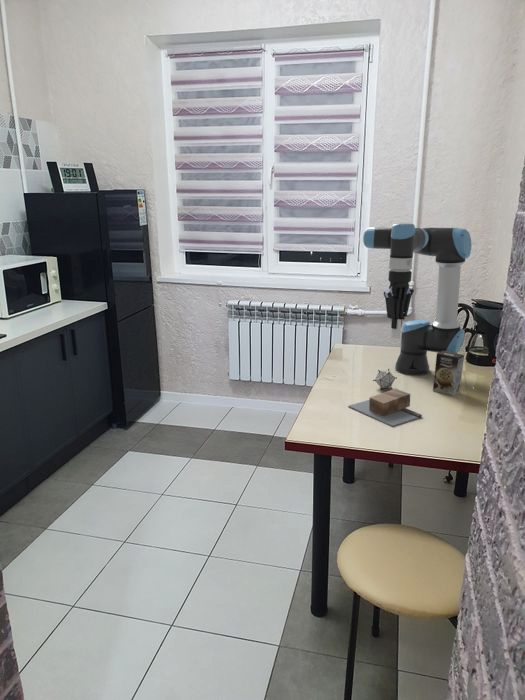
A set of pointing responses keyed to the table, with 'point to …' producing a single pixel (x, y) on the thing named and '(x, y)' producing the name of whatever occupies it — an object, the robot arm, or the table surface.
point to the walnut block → (389, 402)
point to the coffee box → (448, 373)
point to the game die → (385, 379)
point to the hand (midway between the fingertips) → (395, 337)
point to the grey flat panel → (389, 419)
